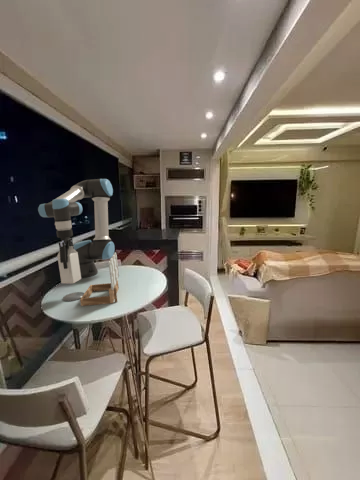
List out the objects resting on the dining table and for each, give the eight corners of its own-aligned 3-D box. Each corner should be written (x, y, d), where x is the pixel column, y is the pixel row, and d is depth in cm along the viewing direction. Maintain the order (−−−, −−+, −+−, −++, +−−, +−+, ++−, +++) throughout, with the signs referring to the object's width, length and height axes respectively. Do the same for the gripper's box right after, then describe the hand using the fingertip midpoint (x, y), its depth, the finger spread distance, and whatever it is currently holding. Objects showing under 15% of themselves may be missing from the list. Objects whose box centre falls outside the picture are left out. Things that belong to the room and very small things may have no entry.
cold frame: (91, 290, 146) (86, 254, 142) (122, 287, 147) (118, 252, 144) (81, 306, 126) (75, 264, 122) (116, 302, 127) (112, 261, 124)
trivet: (67, 294, 143) (66, 293, 143) (87, 292, 144) (87, 291, 144) (59, 302, 133) (59, 301, 132) (81, 300, 133) (81, 299, 133)
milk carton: (73, 283, 132) (68, 247, 129) (61, 283, 134) (56, 248, 131) (81, 279, 139) (76, 244, 136) (69, 279, 141) (64, 245, 137)
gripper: (63, 227, 142) (69, 266, 146) (48, 232, 121) (55, 278, 125) (77, 226, 142) (83, 265, 146) (64, 231, 122) (71, 277, 126)
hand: (70, 271), depth 136 cm, fingers closed on milk carton, 8 cm apart
